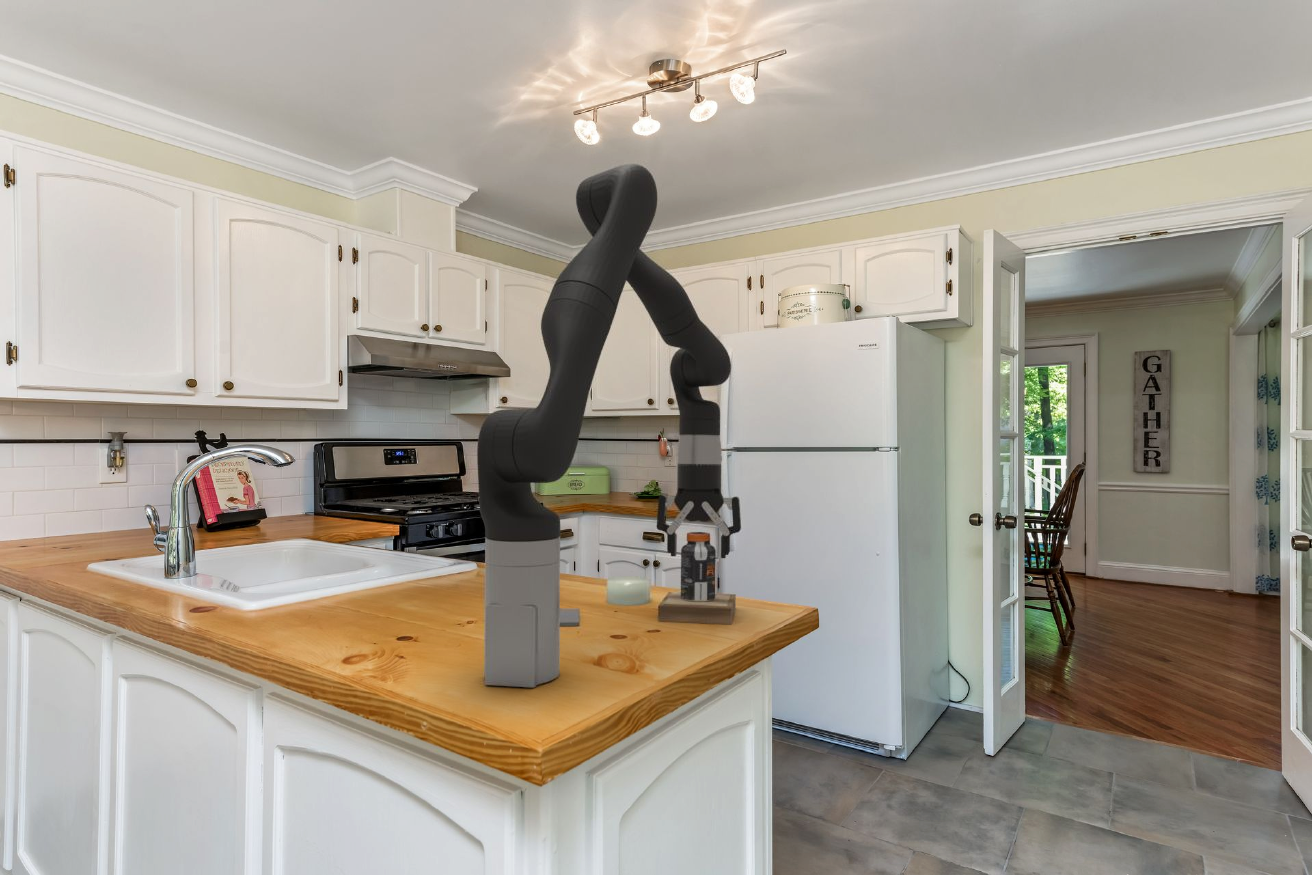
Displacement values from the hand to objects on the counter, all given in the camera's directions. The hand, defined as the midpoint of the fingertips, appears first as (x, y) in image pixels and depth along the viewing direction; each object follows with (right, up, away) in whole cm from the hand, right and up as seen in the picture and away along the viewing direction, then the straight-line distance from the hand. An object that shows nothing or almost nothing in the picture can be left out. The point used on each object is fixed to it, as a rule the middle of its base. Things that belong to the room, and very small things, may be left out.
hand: (698, 556), depth 127 cm
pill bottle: (0, -7, 0) cm, 7 cm away
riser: (0, -10, 0) cm, 10 cm away
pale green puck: (-12, -10, +11) cm, 20 cm away
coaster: (-25, -10, -4) cm, 27 cm away
